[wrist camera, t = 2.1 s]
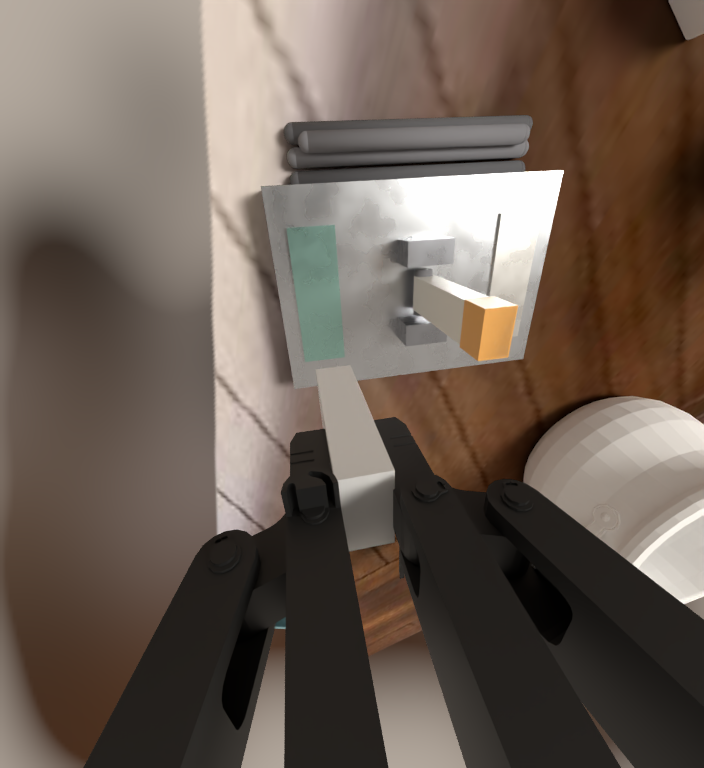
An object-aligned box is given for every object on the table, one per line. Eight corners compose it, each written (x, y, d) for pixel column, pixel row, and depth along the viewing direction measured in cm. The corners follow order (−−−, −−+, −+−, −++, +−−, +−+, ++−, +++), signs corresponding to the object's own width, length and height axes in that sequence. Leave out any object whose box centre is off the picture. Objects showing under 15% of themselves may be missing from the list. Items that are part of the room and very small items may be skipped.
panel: (263, 189, 27) (257, 182, 22) (540, 174, 30) (592, 165, 25) (294, 376, 36) (294, 403, 30) (507, 349, 39) (541, 369, 34)
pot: (678, 361, 45) (879, 436, 29) (644, 480, 57) (775, 577, 41) (505, 418, 44) (619, 525, 29) (508, 526, 56) (589, 642, 41)
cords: (282, 125, 25) (281, 115, 23) (527, 117, 28) (548, 108, 26) (291, 191, 28) (291, 189, 25) (517, 179, 30) (536, 176, 28)
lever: (410, 269, 29) (486, 301, 17) (431, 267, 29) (519, 298, 18) (408, 312, 31) (476, 367, 19) (428, 310, 31) (507, 363, 20)
